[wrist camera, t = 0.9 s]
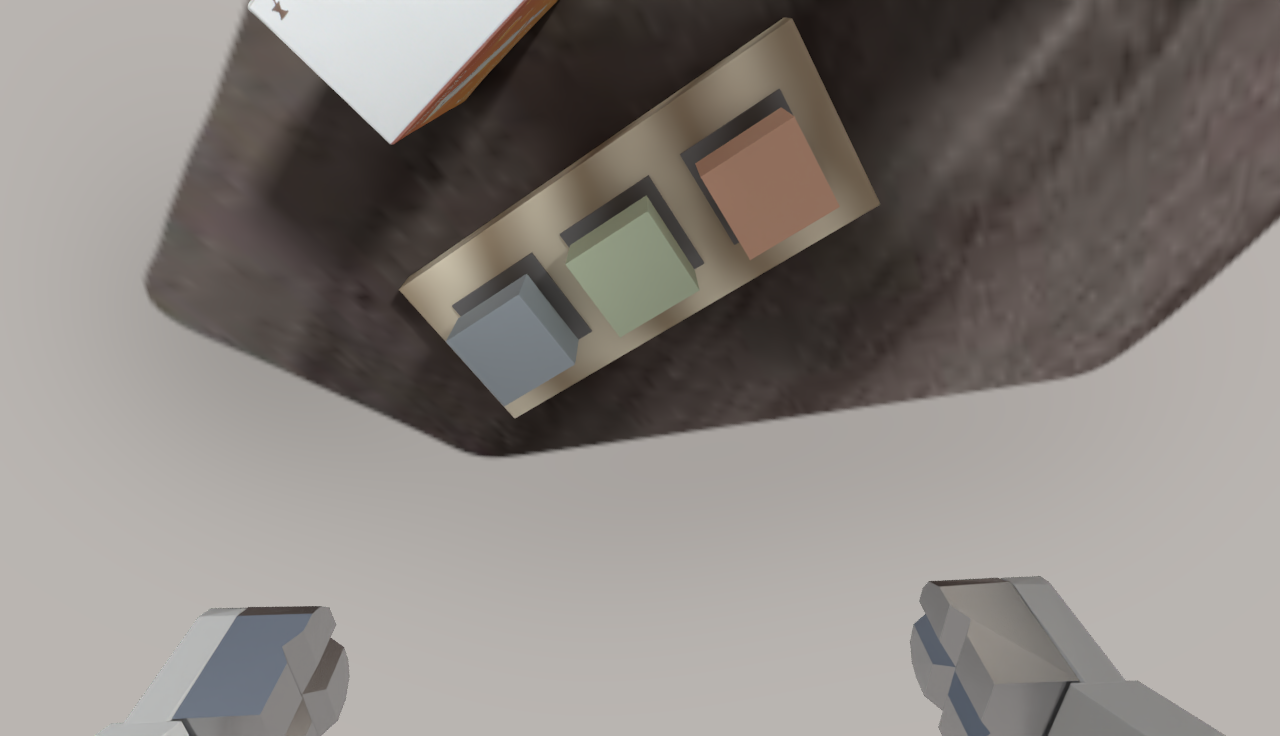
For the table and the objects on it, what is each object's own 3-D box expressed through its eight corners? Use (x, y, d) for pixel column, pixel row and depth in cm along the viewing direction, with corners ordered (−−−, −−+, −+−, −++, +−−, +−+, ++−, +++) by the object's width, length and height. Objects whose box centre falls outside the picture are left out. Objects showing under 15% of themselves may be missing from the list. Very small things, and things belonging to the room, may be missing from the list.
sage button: (646, 195, 35) (647, 211, 32) (694, 269, 37) (699, 290, 34) (569, 245, 36) (565, 264, 33) (620, 314, 38) (620, 337, 36)
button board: (783, 17, 34) (793, 18, 32) (869, 195, 39) (881, 205, 37) (408, 277, 41) (397, 290, 39) (519, 402, 45) (514, 420, 43)
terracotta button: (781, 107, 33) (794, 116, 30) (824, 191, 35) (839, 206, 32) (694, 163, 34) (700, 177, 31) (741, 241, 36) (750, 260, 34)
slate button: (526, 273, 37) (518, 294, 34) (578, 339, 39) (575, 364, 36) (458, 318, 38) (445, 341, 36) (512, 380, 40) (504, 406, 38)
